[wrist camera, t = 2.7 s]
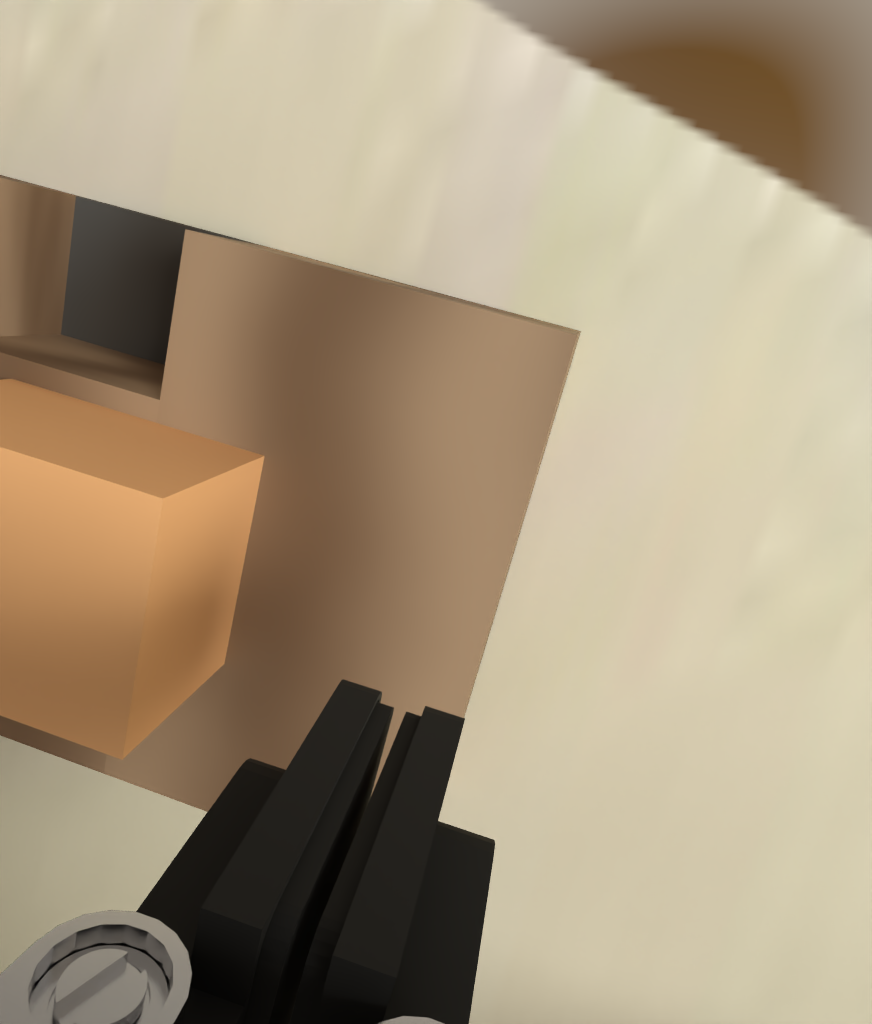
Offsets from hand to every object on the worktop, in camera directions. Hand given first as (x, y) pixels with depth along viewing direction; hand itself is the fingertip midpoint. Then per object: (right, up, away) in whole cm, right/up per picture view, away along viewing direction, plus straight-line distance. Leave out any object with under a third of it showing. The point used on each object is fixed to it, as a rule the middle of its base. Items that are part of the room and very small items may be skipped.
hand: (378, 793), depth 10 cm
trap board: (-9, +6, +11) cm, 16 cm away
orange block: (-6, +3, +7) cm, 10 cm away
